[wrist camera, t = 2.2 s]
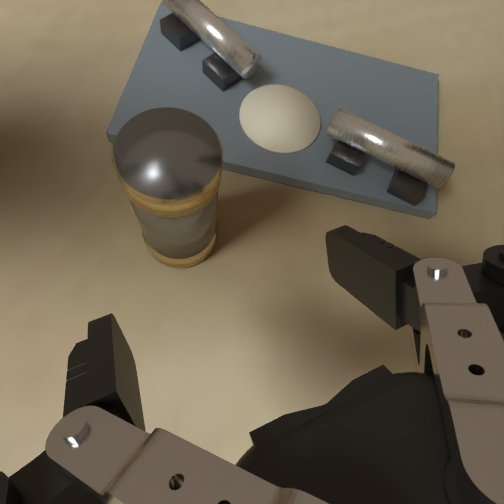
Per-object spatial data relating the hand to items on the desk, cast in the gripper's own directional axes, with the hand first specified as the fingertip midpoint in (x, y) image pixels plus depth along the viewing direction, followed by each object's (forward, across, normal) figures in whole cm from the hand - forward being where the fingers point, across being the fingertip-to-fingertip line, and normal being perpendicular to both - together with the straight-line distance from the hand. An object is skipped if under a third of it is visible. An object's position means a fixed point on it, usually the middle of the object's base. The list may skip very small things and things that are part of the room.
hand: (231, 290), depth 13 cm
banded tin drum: (+13, 0, +3) cm, 13 cm away
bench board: (+18, -12, -2) cm, 22 cm away
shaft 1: (+23, -8, -7) cm, 25 cm away
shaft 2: (+13, -16, +3) cm, 20 cm away
